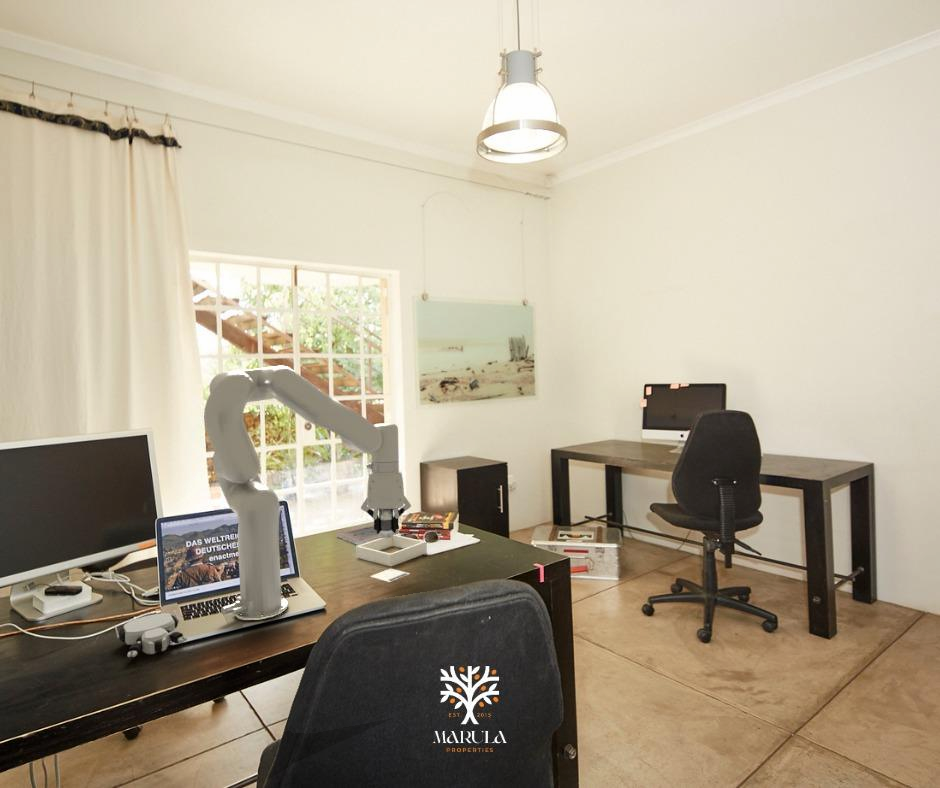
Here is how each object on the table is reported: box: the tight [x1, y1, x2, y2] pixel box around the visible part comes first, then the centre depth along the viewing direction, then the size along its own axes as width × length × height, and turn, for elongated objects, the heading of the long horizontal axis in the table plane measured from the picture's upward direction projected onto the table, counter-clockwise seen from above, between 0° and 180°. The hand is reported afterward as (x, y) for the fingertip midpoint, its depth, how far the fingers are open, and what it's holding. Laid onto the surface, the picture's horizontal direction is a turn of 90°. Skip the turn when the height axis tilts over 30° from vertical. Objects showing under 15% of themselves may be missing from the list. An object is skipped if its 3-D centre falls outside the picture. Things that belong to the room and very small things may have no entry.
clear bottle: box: [378, 509, 394, 538], centre depth 163 cm, size 4×4×9 cm
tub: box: [355, 535, 428, 567], centre depth 182 cm, size 16×16×4 cm
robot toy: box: [114, 610, 188, 658], centre depth 127 cm, size 12×4×15 cm
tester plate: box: [369, 568, 411, 583], centre depth 164 cm, size 8×8×1 cm
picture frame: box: [336, 523, 399, 546], centre depth 209 cm, size 16×2×22 cm
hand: (386, 531), depth 163 cm, fingers closed on clear bottle, 4 cm apart
